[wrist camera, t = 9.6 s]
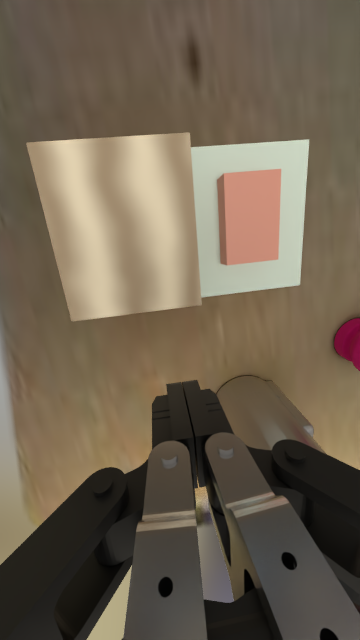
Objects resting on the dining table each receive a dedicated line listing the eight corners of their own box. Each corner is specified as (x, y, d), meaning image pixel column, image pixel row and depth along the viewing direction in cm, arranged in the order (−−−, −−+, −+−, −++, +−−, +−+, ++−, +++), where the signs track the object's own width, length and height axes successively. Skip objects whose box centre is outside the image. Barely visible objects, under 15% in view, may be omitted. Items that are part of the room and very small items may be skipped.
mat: (306, 140, 26) (309, 139, 26) (298, 284, 31) (299, 285, 31) (185, 149, 25) (185, 147, 25) (196, 297, 30) (197, 297, 30)
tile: (223, 173, 24) (217, 179, 26) (226, 265, 26) (220, 263, 29) (281, 168, 24) (269, 175, 26) (278, 259, 27) (267, 258, 29)
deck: (183, 149, 25) (189, 132, 21) (195, 297, 30) (201, 304, 26) (45, 158, 24) (26, 142, 20) (81, 311, 29) (71, 321, 25)
